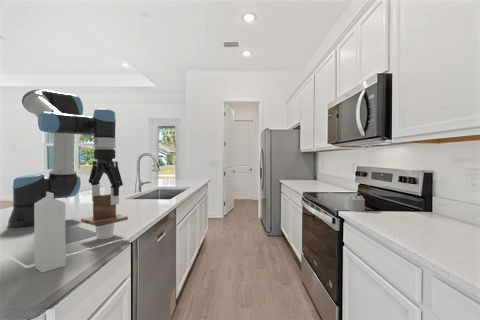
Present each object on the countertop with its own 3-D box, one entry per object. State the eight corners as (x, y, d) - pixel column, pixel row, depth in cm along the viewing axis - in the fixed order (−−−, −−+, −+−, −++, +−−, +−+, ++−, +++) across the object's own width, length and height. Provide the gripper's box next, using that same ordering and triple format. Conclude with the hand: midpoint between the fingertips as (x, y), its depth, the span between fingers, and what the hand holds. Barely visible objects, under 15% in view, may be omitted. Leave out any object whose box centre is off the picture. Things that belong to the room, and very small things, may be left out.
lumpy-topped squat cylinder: (358, 207, 165) (359, 194, 165) (368, 211, 152) (368, 197, 152) (342, 207, 165) (342, 194, 165) (351, 211, 152) (351, 197, 152)
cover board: (81, 221, 99) (80, 195, 99) (110, 215, 109) (110, 192, 109) (97, 226, 92) (97, 198, 92) (127, 219, 102) (127, 194, 102)
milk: (58, 261, 79) (58, 190, 79) (65, 266, 75) (66, 192, 75) (33, 267, 74) (34, 192, 74) (40, 273, 71) (40, 194, 70)
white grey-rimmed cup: (106, 241, 97) (106, 223, 97) (90, 240, 98) (90, 222, 98) (118, 236, 103) (118, 219, 103) (103, 235, 105) (103, 218, 105)
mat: (40, 236, 103) (40, 234, 103) (78, 228, 115) (78, 226, 115) (63, 245, 92) (63, 244, 92) (102, 235, 104) (102, 234, 104)
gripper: (79, 149, 104) (79, 200, 104) (113, 148, 90) (113, 207, 91) (97, 149, 110) (97, 198, 110) (132, 148, 97) (132, 204, 97)
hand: (105, 202), depth 100 cm, fingers open, 13 cm apart
